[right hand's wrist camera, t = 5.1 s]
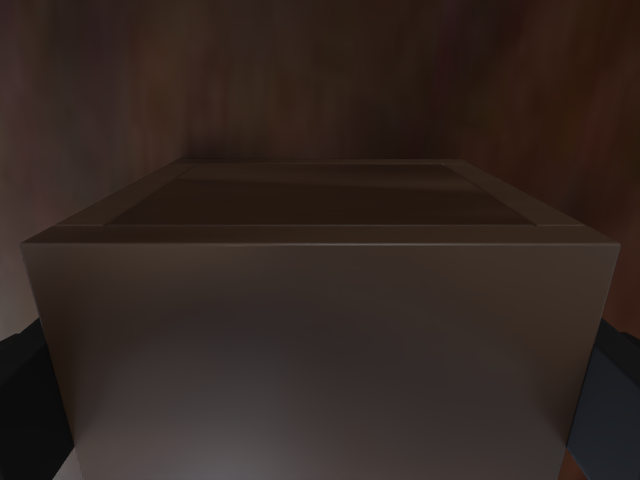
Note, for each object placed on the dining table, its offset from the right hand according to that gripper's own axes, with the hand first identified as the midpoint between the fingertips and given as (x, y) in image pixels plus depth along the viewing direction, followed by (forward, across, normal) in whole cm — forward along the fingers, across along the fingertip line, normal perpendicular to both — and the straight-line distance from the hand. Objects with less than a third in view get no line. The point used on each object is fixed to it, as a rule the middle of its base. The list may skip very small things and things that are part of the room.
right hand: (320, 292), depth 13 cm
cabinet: (+4, 0, -7) cm, 8 cm away
